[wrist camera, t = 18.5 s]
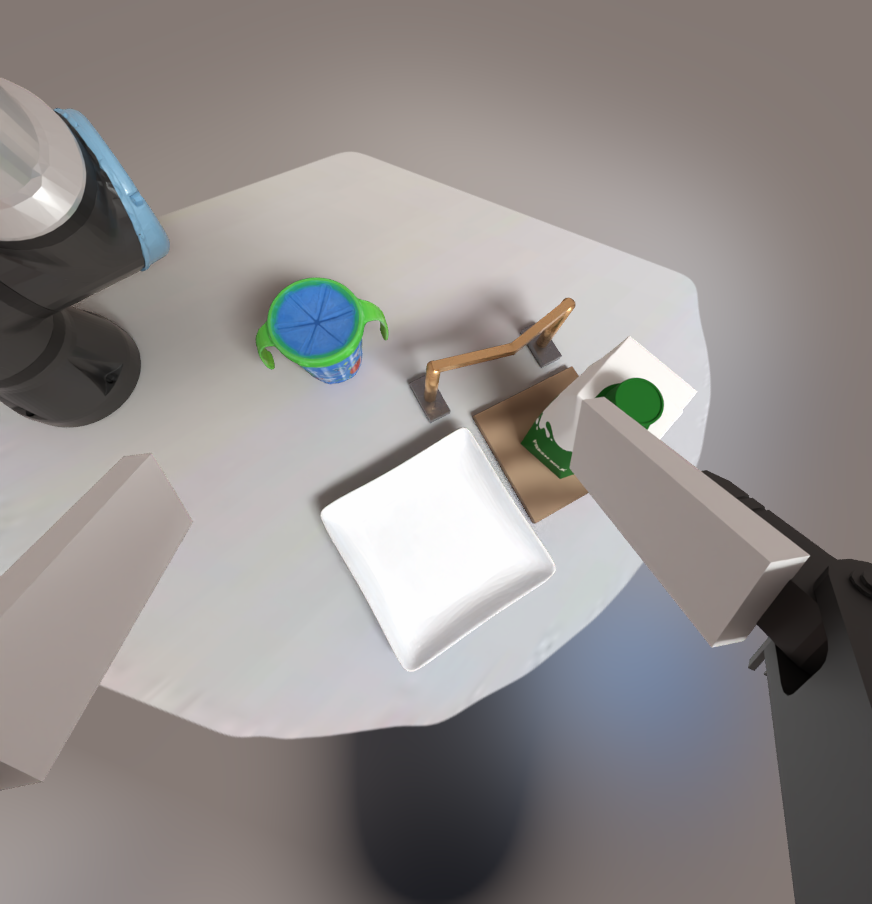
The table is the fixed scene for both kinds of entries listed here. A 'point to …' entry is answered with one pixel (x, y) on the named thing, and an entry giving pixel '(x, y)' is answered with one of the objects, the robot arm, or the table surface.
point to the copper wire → (492, 358)
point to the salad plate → (437, 547)
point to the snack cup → (318, 328)
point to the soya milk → (625, 385)
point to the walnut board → (522, 468)
